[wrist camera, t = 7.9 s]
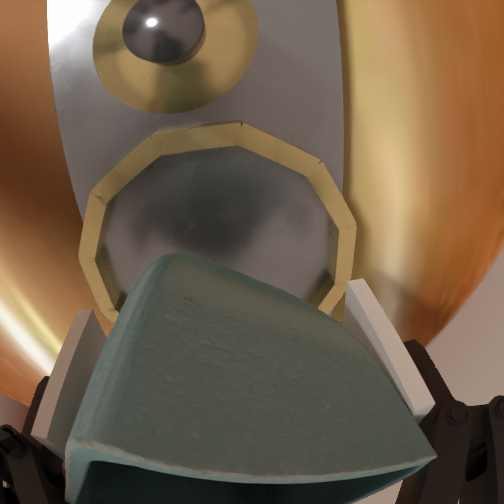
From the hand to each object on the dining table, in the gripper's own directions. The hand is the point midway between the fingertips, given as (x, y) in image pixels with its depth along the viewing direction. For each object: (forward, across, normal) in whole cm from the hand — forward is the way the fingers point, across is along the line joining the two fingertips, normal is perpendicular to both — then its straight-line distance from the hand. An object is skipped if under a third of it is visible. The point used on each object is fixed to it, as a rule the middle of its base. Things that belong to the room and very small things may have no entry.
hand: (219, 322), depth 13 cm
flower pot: (+1, 0, 0) cm, 1 cm away
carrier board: (+6, 0, +5) cm, 7 cm away
